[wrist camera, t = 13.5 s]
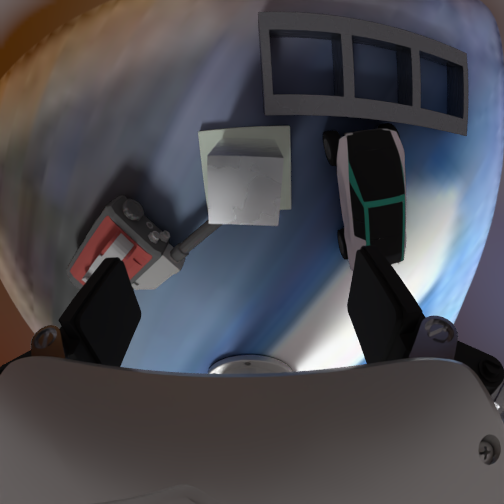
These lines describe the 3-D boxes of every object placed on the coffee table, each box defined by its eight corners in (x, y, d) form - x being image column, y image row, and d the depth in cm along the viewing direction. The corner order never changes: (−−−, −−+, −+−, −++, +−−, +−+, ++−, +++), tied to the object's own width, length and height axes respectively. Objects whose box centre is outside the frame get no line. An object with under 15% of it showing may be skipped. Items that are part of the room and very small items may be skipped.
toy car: (338, 252, 26) (354, 286, 21) (319, 129, 20) (338, 139, 15) (391, 240, 25) (414, 270, 21) (383, 120, 19) (416, 129, 14)
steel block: (271, 187, 22) (278, 226, 16) (221, 186, 22) (208, 223, 16) (274, 139, 20) (283, 158, 14) (222, 137, 20) (207, 155, 14)
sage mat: (290, 206, 23) (291, 209, 23) (209, 210, 23) (208, 213, 23) (288, 125, 20) (290, 126, 19) (199, 131, 20) (198, 131, 19)
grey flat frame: (450, 54, 14) (466, 53, 12) (450, 131, 18) (466, 136, 16) (257, 21, 15) (258, 12, 13) (264, 113, 19) (265, 115, 17)
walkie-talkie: (126, 308, 30) (250, 204, 22) (112, 335, 26) (247, 230, 19) (71, 262, 27) (175, 128, 19) (52, 285, 23) (154, 137, 15)
